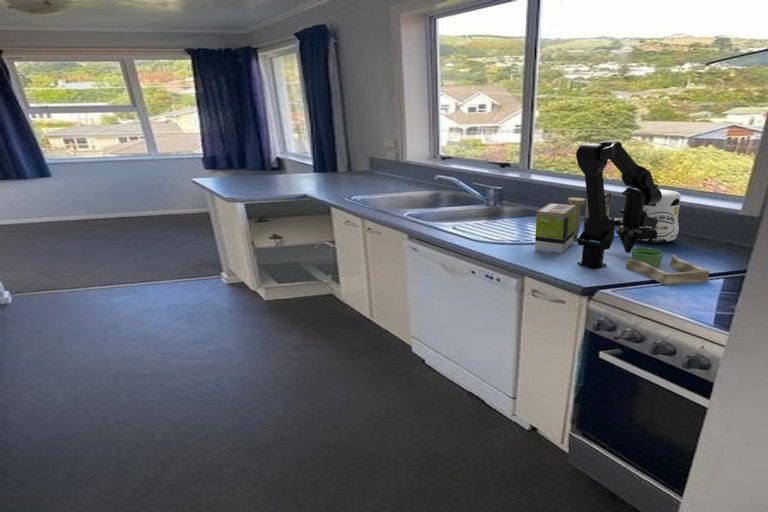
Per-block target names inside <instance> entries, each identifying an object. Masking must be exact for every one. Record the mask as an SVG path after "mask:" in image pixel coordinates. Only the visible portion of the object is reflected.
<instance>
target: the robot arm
mask: <svg viewBox="0 0 768 512" xmlns="http://www.w3.org/2000/svg"><path fill="white" fill-rule="evenodd" d="M622 145H623V144H622V143H621V142H620V141H619V140H605V141H600V142H595V143H583V144H581V145H580V146H578V148H577V149H576V152H575V157H576V158H575V159H576V162H577V166H578V168H579V169H580V170H581V171H582V173H583V174H584V180H585V191H586V200H587V201H588V211H589V218H588V219H587V221H586V223H585V229H584V231H583V230H582V232H581V233H580V235H578V236H579V237H577V239H576V240H577V245H578V246H581V247H582V255H581V261H578V262H577V263H576V264H577V265H580V266H582V267H585V268H588V269H591V270H596V269H599V268H603V267H606V266H607V265H608V264H607V263H605V262H604V256H605V255H604V254H605V251H606V250H610V248H611V246H612V243H613V240H614V238H615V232H616V234H617V235H618V237H619V239H620V242H621V244H622V246H623V249H624V251H625V253H627V254H630V253H632V249H634V246H635V245H636V243H637V242H638V241H637V240H638V239H640V240H645V239H657V234H658V232H657V231H656V230H655V227H656V225H657V223H658V221H659V220H657V219H654V218H651V217H648V216H647V213H646V211H643V207H644V206H646V205H651V204H656V203H658V202H659V201H660V200H661V198H662V194H661V191H660V190H659V189H660V188H658V184H657V183H655V182H654V179H653V175H652V173H651V171H650V170H649V169H647V168H646V167H644V166H641V165H639V164H637V163H636V162H635V160H634V159H633V158H632V157H631V156H630V154H629V153H628V152H627V151H626V150H625V148H624V147H623V146H622ZM608 160H610V161H611V163H612V164H613V165H614V166H615V167H616V168H617V170H618V171H619V172H620V173H621V181H622V182H623V184H624V186H626V189H625V190H623V191H622V192H621V195H622V196H625V197H624V205H623V209H620V213H621V214H622V217H610V216H607V215H606V206H605V194H604V193H605V183H604V170H605V168H606V167H607V165H608V163H609V162H608ZM616 226H617V227H618V230H616ZM646 226H648V227H647V228H640V227H646ZM649 227H652V228H654V229H652V228H649Z"/></svg>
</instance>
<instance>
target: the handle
mask: <svg viewBox="0 0 768 512" xmlns="http://www.w3.org/2000/svg"><path fill="white" fill-rule="evenodd" d="M586 200H587V198H582V197H568V198H567V202H568V203H569V205H576V211H575V226H574V237H576V238H579V237H578V236H579V232H580V226H581V207H582V205H584V204H586Z"/></svg>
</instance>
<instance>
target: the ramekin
mask: <svg viewBox="0 0 768 512" xmlns="http://www.w3.org/2000/svg"><path fill="white" fill-rule="evenodd" d="M663 256H664V252H663V251H662V250H660V249H656V248H652V247H633V248H632V250H631V259H632V260H637V261H641V262H644V263H646V264H648V265H651V266H653V267H656V268H659V267H660V265H661V262H662V259H663Z"/></svg>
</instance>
